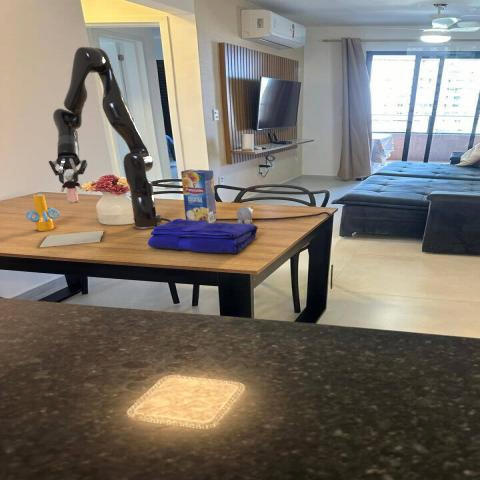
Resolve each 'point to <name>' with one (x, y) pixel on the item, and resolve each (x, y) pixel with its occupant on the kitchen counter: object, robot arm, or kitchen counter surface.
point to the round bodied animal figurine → (245, 215)
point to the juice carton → (199, 195)
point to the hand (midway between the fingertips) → (68, 182)
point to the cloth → (72, 238)
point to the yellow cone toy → (42, 214)
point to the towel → (202, 236)
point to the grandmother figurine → (71, 189)
